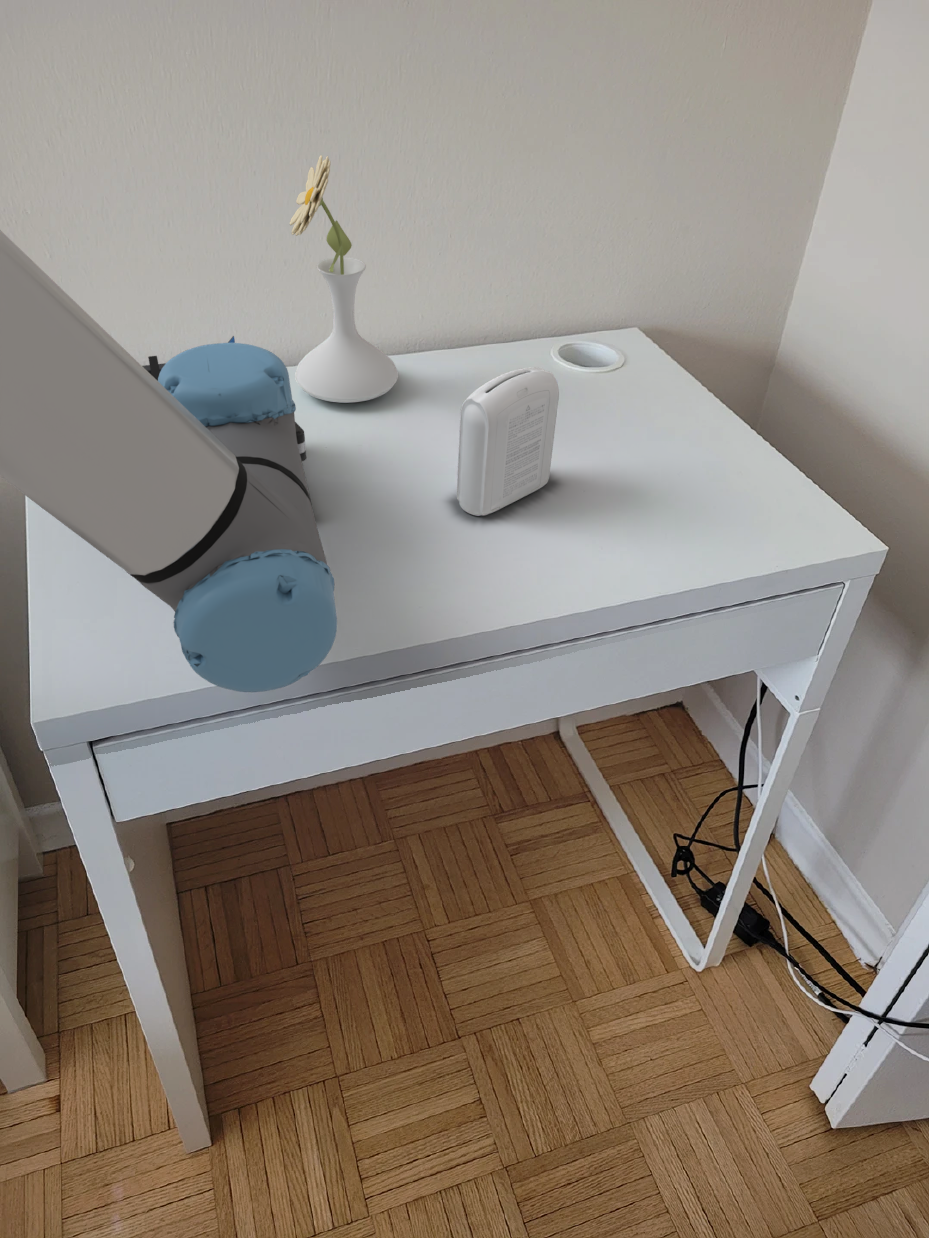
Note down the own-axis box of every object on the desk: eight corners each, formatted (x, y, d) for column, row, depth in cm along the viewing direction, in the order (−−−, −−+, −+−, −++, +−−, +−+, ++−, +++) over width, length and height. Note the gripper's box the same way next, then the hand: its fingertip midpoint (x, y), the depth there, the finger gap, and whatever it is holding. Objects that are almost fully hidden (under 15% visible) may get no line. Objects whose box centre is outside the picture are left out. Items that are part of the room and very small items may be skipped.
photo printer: (523, 466, 95) (534, 350, 87) (555, 484, 93) (569, 366, 85) (449, 504, 90) (452, 384, 82) (481, 523, 87) (488, 402, 79)
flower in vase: (315, 360, 111) (298, 127, 95) (409, 372, 110) (408, 138, 94) (276, 412, 102) (250, 163, 85) (378, 426, 100) (372, 175, 84)
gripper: (104, 562, 71) (93, 415, 87) (363, 520, 76) (307, 389, 92) (81, 476, 66) (74, 338, 82) (359, 438, 71) (301, 314, 87)
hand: (197, 365), depth 87 cm, fingers open, 7 cm apart
